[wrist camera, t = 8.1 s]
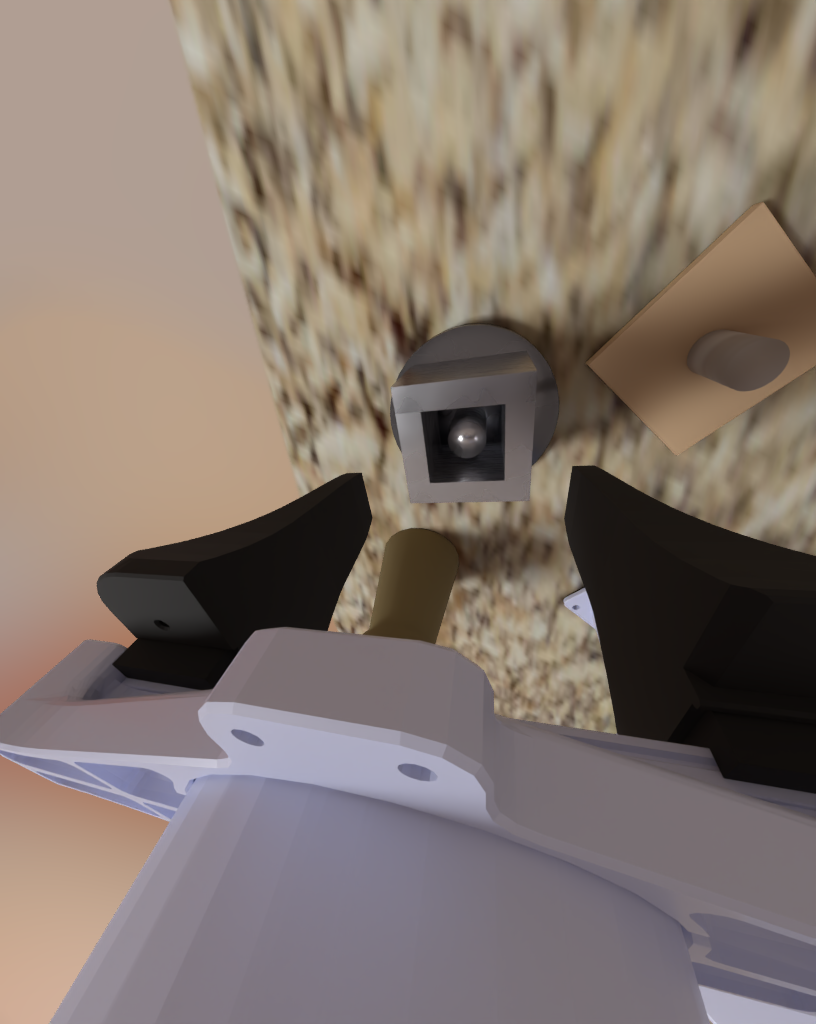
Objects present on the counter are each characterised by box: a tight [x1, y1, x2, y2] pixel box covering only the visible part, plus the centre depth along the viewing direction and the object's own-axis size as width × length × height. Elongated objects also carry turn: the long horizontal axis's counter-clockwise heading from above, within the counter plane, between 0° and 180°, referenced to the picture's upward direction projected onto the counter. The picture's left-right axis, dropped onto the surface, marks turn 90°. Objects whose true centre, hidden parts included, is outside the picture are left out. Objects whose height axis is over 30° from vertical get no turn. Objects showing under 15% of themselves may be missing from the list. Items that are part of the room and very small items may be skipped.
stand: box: [586, 202, 816, 456], centre depth 13 cm, size 7×7×4 cm
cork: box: [363, 528, 459, 644], centre depth 21 cm, size 6×6×11 cm
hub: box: [390, 323, 559, 465], centre depth 17 cm, size 9×9×4 cm
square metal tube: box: [391, 351, 537, 503], centre depth 16 cm, size 6×6×4 cm
